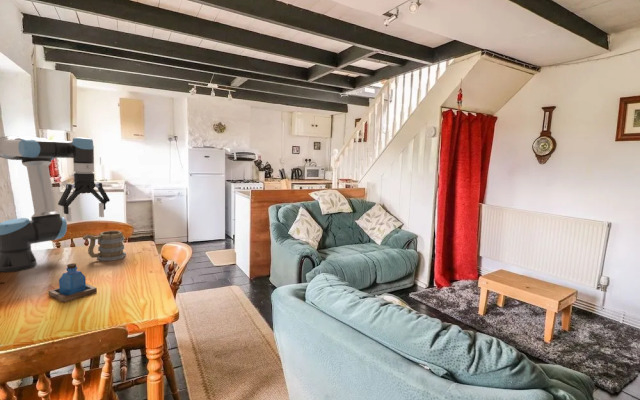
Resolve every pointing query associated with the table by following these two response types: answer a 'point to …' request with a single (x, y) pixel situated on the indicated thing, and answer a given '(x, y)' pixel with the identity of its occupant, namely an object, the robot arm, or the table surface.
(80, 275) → the perfume bottle
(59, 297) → the walnut tray
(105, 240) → the tankard
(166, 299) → the table surface
